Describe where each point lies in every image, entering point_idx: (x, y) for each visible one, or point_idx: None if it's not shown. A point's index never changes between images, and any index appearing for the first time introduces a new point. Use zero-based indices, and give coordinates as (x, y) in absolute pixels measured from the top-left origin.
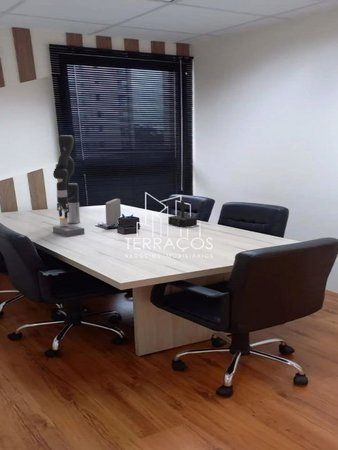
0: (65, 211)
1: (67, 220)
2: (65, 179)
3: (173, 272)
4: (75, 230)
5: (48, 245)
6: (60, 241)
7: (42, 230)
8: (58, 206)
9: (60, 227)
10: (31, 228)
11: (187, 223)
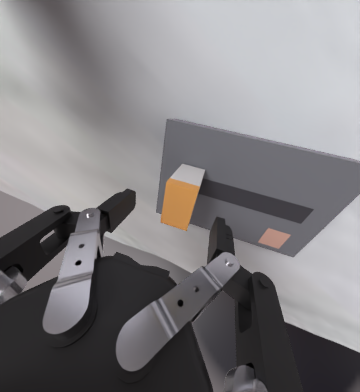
0: (237, 305)
1: (200, 184)
2: None
3: None
4: (324, 222)
5: (296, 318)
6: (305, 289)
7: None
8: (31, 267)
9: (198, 211)
10: (66, 191)
11: None
